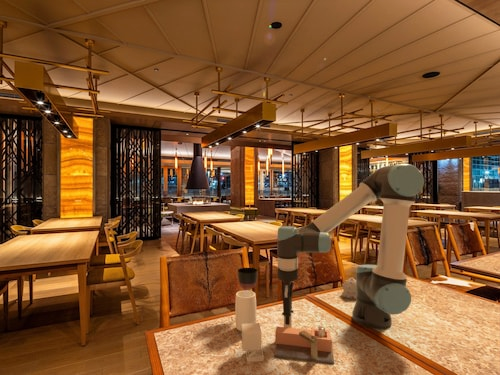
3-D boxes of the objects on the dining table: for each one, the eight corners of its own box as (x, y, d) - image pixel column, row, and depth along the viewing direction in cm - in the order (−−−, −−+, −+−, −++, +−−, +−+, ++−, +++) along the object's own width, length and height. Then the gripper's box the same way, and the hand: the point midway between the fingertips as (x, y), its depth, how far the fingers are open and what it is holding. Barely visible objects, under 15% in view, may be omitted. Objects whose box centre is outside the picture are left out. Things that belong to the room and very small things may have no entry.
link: (330, 341, 99) (330, 330, 99) (331, 352, 93) (331, 340, 93) (277, 335, 104) (277, 324, 104) (274, 345, 97) (274, 333, 97)
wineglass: (256, 320, 118) (255, 273, 118) (236, 318, 120) (235, 272, 120) (259, 312, 126) (258, 268, 126) (240, 310, 127) (240, 267, 127)
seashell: (373, 300, 138) (372, 280, 138) (344, 300, 139) (344, 280, 139) (364, 291, 150) (364, 273, 150) (338, 291, 151) (338, 272, 151)
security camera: (241, 352, 95) (241, 322, 95) (261, 351, 96) (261, 321, 96) (242, 363, 89) (242, 332, 89) (264, 362, 90) (263, 331, 90)
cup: (259, 326, 113) (259, 291, 113) (252, 336, 105) (252, 299, 105) (239, 323, 116) (239, 289, 116) (231, 333, 108) (231, 296, 108)
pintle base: (330, 338, 103) (330, 318, 103) (334, 367, 87) (334, 343, 87) (279, 333, 108) (279, 313, 108) (273, 359, 91) (273, 336, 91)
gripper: (279, 263, 111) (280, 322, 111) (275, 272, 99) (275, 339, 99) (298, 264, 110) (299, 324, 109) (296, 274, 97) (296, 342, 97)
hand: (287, 331), depth 104 cm, fingers closed
